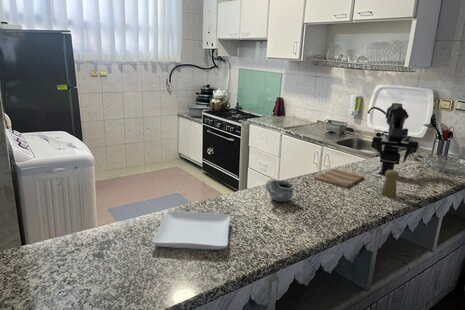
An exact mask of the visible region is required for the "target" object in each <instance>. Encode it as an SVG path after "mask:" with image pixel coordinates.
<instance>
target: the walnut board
mask: <svg viewBox="0 0 465 310" xmlns="http://www.w3.org/2000/svg"><path fill="white" fill-rule="evenodd" d="M364 179H365V175H360V174H356V173H352V172H348V171H345V170H341V169H337V168H333V169H330V170H327V171H325V172H323V173H321V174H317V175H316V176H314V180H316V181H320V182H324V183H326V184H330V185H333V186H338V187H341V188H345V189H348V188H350V187H352V186H353V185H355V184H357V183H358V182H361V181H363V180H364Z"/></svg>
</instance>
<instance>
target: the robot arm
mask: <svg viewBox="0 0 465 310" xmlns="http://www.w3.org/2000/svg"><path fill="white" fill-rule="evenodd" d="M409 117H410V115H409V114H408V112H407V110H406V109H405V108H403V104H402V103H396V102H392V103H391V105H390V106H389V107H388V108H387V109H386V113H385V119H386V124H387V125H388V133H387V140H383V137H381V136H380V137H379V136H372V141H371V146H370V147H371V148H372V149H374V150H376V152H377V154H378V156H379V163H382V164H381V169H380V171H379V172H378V173H377V174H379V175H383V176H385V172H386V171H387V170H395V169H394V168H395V165H399V164H400V160H401V157H402V156H401V154H400V153H401V152H399V148H402V149H406V150H405V153H404V156H403V162H402V163H404V164H405V162H406V160H407V159H408V157H409V156H410V155H413V154H416V153H417V151H418V149H419V141H416V140H415V141H414V140H408V142H407V143H406V142H403V139H404V137H406V138H407V137H408V135H409V128H404V124H405V122H406V120H407V119H409Z"/></svg>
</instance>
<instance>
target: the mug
mask: <svg viewBox="0 0 465 310" xmlns="http://www.w3.org/2000/svg"><path fill="white" fill-rule="evenodd" d="M265 188H266V191H267V192H268V193H269V194H268V195H269V197H270V198H271V199H272V200H274V201H275V202H277V203H286V202H288V201H290V200H291V198H292V197H293V193H294V192H293V191H294V188H295V184H294V183H293V182H292V181H289V180H283V179H281V180H278V179H276V178H273V177H272V178H268V180H267V181H266V183H265Z"/></svg>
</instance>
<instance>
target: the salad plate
mask: <svg viewBox="0 0 465 310" xmlns="http://www.w3.org/2000/svg"><path fill="white" fill-rule="evenodd" d="M230 222H231V215H230V214H223V213H212V212H210V213H209V212H196V211H195V212H193V211H192V212H191V211H173V210H172V211H171V210H170V211H167V212H166V214H165V216H164V217H163V219H162V222H161V223H160V225H159V228H158V229H157V231H156V232H155V234H154V236H153V238H152V241H151V242H152V244H154V245H156V246H158V247H161V248H162V247H163V248H164V247H165V248H175V249H176V248H177V249H191V250H192V249H193V250H212V251H213V250H215V251H216V250H224V249H225V248H227V247H228V245H229V244H228V243H229V229H230V228H229V227H230Z"/></svg>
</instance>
